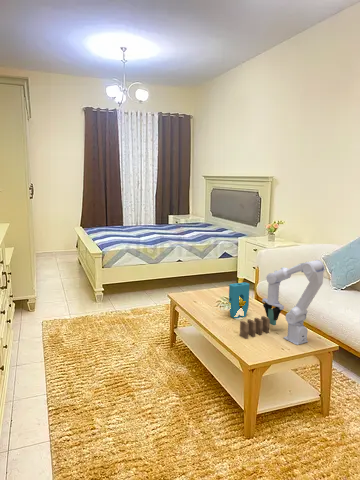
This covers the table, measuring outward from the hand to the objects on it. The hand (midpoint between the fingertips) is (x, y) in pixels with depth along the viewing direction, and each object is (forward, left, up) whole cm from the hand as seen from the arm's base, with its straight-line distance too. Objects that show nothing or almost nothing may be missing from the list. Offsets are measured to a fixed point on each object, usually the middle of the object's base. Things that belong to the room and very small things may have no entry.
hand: (271, 318), depth 200 cm
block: (+25, +3, -7) cm, 26 cm away
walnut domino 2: (0, +14, -7) cm, 16 cm away
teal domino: (0, 0, -3) cm, 3 cm away
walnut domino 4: (0, +5, -7) cm, 8 cm away
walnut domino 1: (0, +19, -7) cm, 20 cm away
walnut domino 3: (0, +10, -7) cm, 12 cm away
